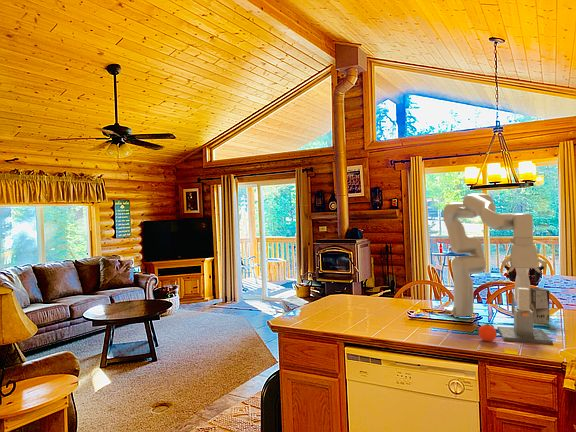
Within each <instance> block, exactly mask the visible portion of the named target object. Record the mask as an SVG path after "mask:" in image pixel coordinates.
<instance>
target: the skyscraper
mask: <svg viewBox="0 0 576 432" xmlns="http://www.w3.org/2000/svg"><path fill="white" fill-rule="evenodd" d="M514 269H515V272H516V275H515V281H514V289H513V290H512V293H511V294H512V295H511V296H512V297H511V312H510V313H511V314H513V315H514V308H516V305H517V288H528V289H529V288H532V286H531V281H530V276H529V272H530V268H514ZM515 302H516V303H515Z"/></svg>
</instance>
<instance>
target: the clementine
mask: <svg viewBox="0 0 576 432" xmlns="http://www.w3.org/2000/svg"><path fill="white" fill-rule="evenodd" d="M478 335H479V337H480V339H482V340H483V341H485V342H489V343H490V342H493V341H495V339H496V338H497V335H498V334H497V330H496V328H495V327H494V326H493V325H492V324H489V323H485V324H483V325H481V326H480V327H479V328H478Z"/></svg>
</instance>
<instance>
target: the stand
mask: <svg viewBox="0 0 576 432" xmlns="http://www.w3.org/2000/svg"><path fill="white" fill-rule="evenodd" d="M497 331H498V333H499V335H500V336H501V339H502V340H503V341H504V342H516V343H517V342H518V343H528V344H529V343H530V344H543V345H553V343H554V341H553V340H552V338H551V337H550V336H549V335H548V334H547V333H546V332H545V331H544V330H543V329H541V328H540V329H538V328H534V321H533V312H532V311H531V310H530V312H524V311H518V310H517V307H515V308H514V314H513V327H511V326H497Z"/></svg>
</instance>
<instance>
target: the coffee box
mask: <svg viewBox="0 0 576 432" xmlns="http://www.w3.org/2000/svg"><path fill="white" fill-rule="evenodd" d="M529 308H530V310H531V311H532V312H533V323H535V324H547V323H549V324H550V290H549V289H546V288H544V287H531V288H529Z"/></svg>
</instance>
